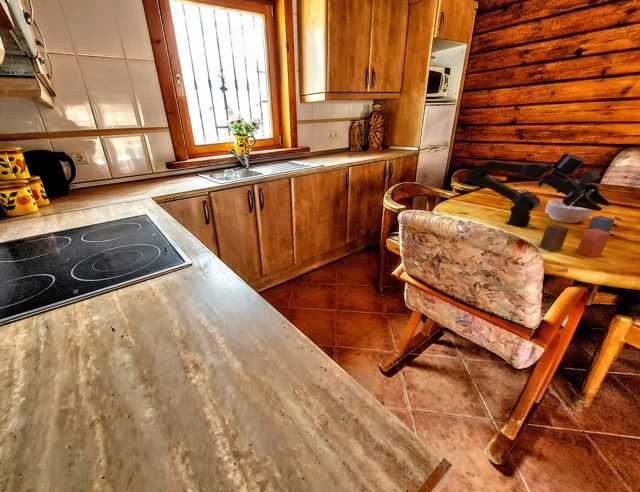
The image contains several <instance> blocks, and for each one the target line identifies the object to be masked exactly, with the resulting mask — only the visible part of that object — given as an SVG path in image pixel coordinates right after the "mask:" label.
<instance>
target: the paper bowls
mask: <svg viewBox="0 0 640 492" xmlns="http://www.w3.org/2000/svg"><path fill="white" fill-rule="evenodd" d="M563 199H564V198H554V199H549V200H548V201H547V203H546V206H545V208H544V212H545V213H546V214H547V215H549V218H550V219H552V220H554V221H556V222H560V223H566V224H576V223H579V222H581V221H582V220H586V219H588V218H590V217H591V214H592V212H593V210H591V209H585V208H580V207H574V206H571V205H572V204H573V202H572V204H571V205H570V206H567V205H565V204H563Z"/></svg>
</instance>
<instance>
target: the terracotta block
mask: <svg viewBox="0 0 640 492" xmlns="http://www.w3.org/2000/svg"><path fill="white" fill-rule="evenodd" d="M610 236H611V232H609V233H608V232H605V231H602V230H599V229H588V228H587V229H584V232H583V234H582V237H581V239H580V241H579V243H578V246H577V248H576V251H575V252H576V253H578V254H581V255H583V256H586V257H588V258H594V257H601V256H602V254H603V252H604V249H605V247H606V245H607V242H608V240H609V238H610Z"/></svg>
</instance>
